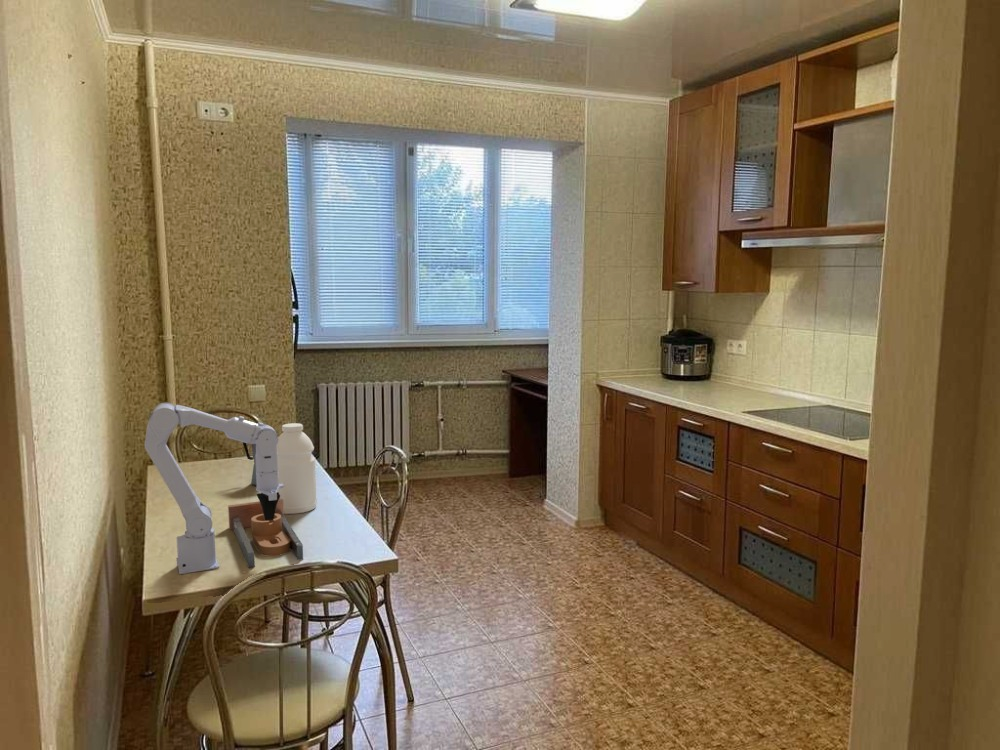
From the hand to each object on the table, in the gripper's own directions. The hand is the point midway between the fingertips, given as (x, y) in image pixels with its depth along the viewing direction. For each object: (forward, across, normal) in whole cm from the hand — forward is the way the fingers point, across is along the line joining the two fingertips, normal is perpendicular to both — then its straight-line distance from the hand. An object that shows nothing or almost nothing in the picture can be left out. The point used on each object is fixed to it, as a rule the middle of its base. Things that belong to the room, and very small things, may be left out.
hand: (269, 519), depth 199 cm
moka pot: (+11, +77, -11) cm, 78 cm away
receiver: (+10, +11, -1) cm, 15 cm away
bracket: (+11, +9, -2) cm, 14 cm away
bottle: (+11, +41, -15) cm, 45 cm away
